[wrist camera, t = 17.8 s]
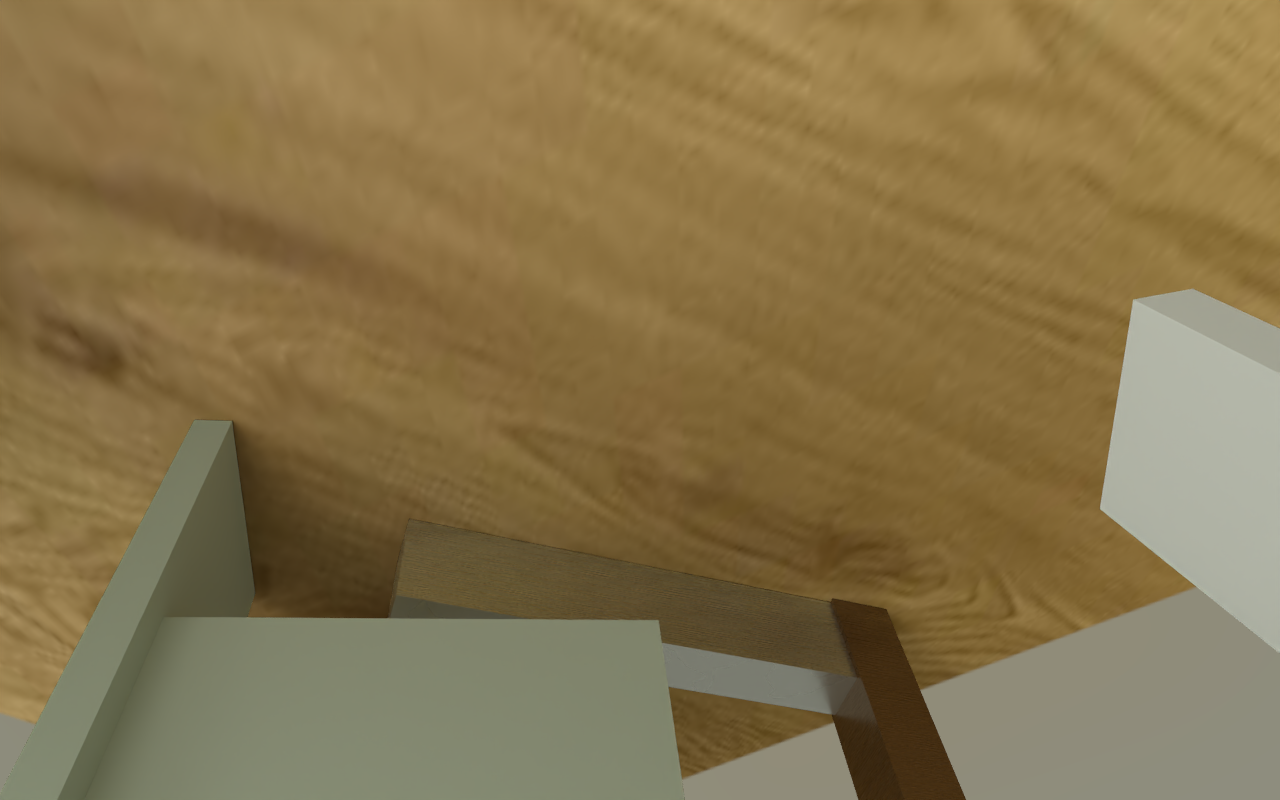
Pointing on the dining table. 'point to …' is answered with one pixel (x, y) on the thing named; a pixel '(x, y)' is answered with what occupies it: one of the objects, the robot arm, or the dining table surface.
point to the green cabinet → (331, 686)
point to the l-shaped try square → (705, 641)
